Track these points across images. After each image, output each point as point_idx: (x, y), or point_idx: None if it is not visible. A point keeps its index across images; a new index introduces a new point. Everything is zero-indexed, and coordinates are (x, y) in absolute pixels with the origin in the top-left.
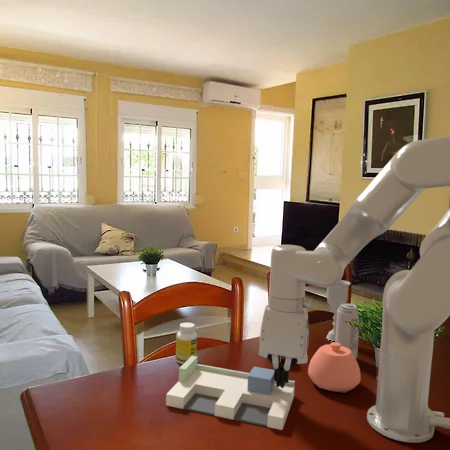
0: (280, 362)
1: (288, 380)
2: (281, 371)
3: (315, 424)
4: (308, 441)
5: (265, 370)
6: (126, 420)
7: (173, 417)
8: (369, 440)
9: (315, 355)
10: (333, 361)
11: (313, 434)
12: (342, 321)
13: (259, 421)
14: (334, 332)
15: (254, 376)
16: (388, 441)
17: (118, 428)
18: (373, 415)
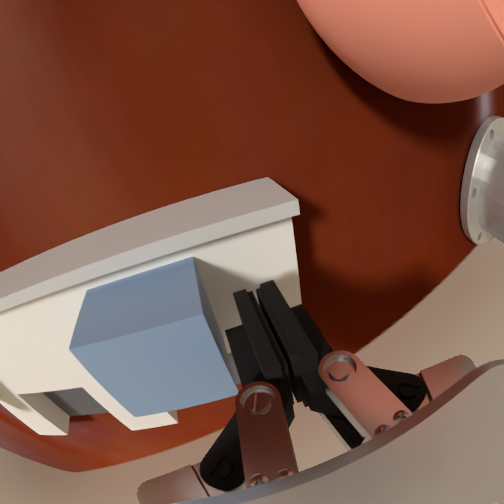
0: (286, 408)
1: (300, 304)
2: (299, 400)
3: (364, 292)
4: (352, 347)
5: (153, 350)
6: (61, 446)
7: (87, 429)
8: (447, 266)
9: None
10: (501, 75)
11: (361, 325)
12: None
13: (236, 379)
14: None
15: (160, 411)
16: (468, 246)
17: (75, 455)
18: (475, 196)
